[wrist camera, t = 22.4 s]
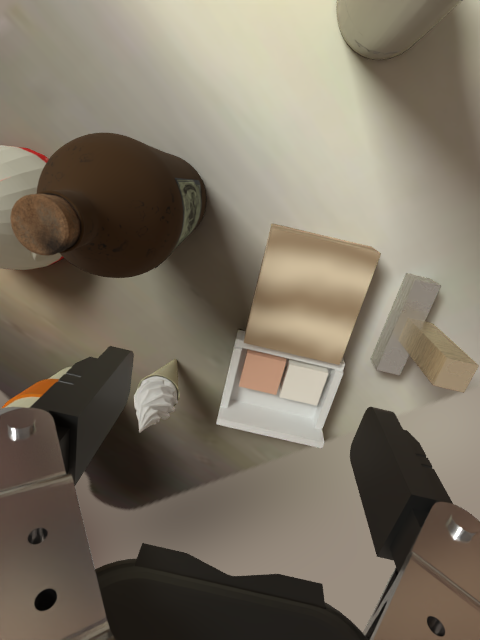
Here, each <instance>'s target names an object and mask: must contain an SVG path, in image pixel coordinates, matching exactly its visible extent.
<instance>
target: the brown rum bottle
mask: <svg viewBox="0 0 480 640" xmlns="http://www.w3.org/2000/svg"><path fill="white" fill-rule="evenodd" d="M205 209H206V192H205V188H204V184H203V182H202V180H201V178H200V176H199V174H198V173H197V172H196V170H195V169H194V168H193V167H192V166H191V165H190V164H189V163H187V162H186V161H185V160H183V159H181V158H179V157H177V156H174V155H171V154H168V153H165V152H162V151H160V150H158V149H155V148H153V147H150V146H148V145H146V144H144V143H142V142H139V141H137V140H135V139H132V138H130V137H127V136H123V135H119V134H114V133H94V134H88V135H85V136H82V137H79V138H76V139H74V140H72V141H70V142H69V143H67V144H65V145H64V146H62V147H61V148H60V149H58V150H57V151H56V152H55V153H54V154H53V155H52V156H51V157H50V159H49V160H48V161H47V163H46V164H45V166H44V168H43V170H42V172H41V175H40V178H39V181H38V186H37V193H36V194H29V195H26V196H23V197H21V198H20V199H19V200H17V201H16V203H15V204H14V206H13V208H12V211H11V218H10V219H11V226H12V229H13V232H14V234H15V236H16V238H17V239H18V241H19V242H20V243H21V244H22V245H23V246H24V247H25V248H26V249H28V250H29V251H31V252H33V253H35V254H39V255H44V256H49V255H54V254H57V253H60V254H61V255H62V256H63V257H64V258H65V259H66V260H68V261H69V262H70V263H72V264H73V265H75V266H76V267H78V268H80V269H82V270H84V271H86V272H89V273H91V274H95V275H98V276H103V277H112V278H125V277H132V276H137V275H140V274H143V273H146V272H148V271H150V270H152V269H153V268H156V267H158V266H159V265H160V264H161V263H162V262H163V261H164V260H165V259H166V258H167V257H168V256H169V255H170V254H171V253H172V252H173V251H174V250H175V249H176V247H177V246H178V245H179V244H180V243H181V242H182V241H183V240H184V239H185V238H186V237H187V236H188V235H189V234H190V233H191V232H192V231H193V230H194V229H195V228H196V227H197V226H198V225H199V223H200V222H201V220H202V218H203V216H204V213H205Z"/></svg>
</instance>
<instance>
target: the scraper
mask: <svg viewBox="0 0 480 640" xmlns="http://www.w3.org/2000/svg"><path fill="white" fill-rule="evenodd" d="M440 287H441V285H439V284H438V283H436V282H435V281H433V280H432V279H430V278H425V277H421V276H417V275H413V274H409V273H406V275H405V277H404V279H403V282H402V284H401V287H400V289H399V291H398V294H397V296H396V299H395V301H394V303H393V306H392V308H391V311H390V313H389V316H388V318H387V320H386V323H385V325H384V328H383V330H382V332H381V335H380V337H379V340H378V342H377V344H376V347H375V349H374V352H373V354H372V356H371V361H372V362H373V364H374V366H375V368H376V370H379V371H383V372H387V373H391V374H396V375H400V374H401V372H402V370H403V368H404V365H405V363H406V361H407V359H408V357H409V355H410V356H411V357H412V359H413V360H414V361H415V363H416V364H417V365H418V366H419V368H420V369H421V370H422V372H423V373H424V374H425V375H426V377H427V378H428V379H429V381H430V382H431V383H432V385H434V386H438V387H442V388H446V389H451V390H455V391H459V392H463V393H464V392H465V390H466V388H467V386H468V384H469V383H470V381H471V379H472V377H473V375H474V374H475V372H476V370H477V368H478V366H479V365H478V364H477V363H475V362H474V361H473V360H472V359H471V358H470V357H469V356H468V355H467V354H466V353H465V352H463V351H462V350H461V349H460V348H459V347H458V346H457V345H456V344H455V343H454V342H452V341H451V340H450V339H449V338H448V337H447V336H446V335H445V334H444V333H443V332H442V331H440V330H439V329H438V328H437V327H436V326H435V325H434V324H432V323H428V322H425V320H426V318H427V316H428V313H429V311H430V309H431V307H432V305H433V303H434V300H435V298H436V296H437V294H438V292H439V290H440Z"/></svg>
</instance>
